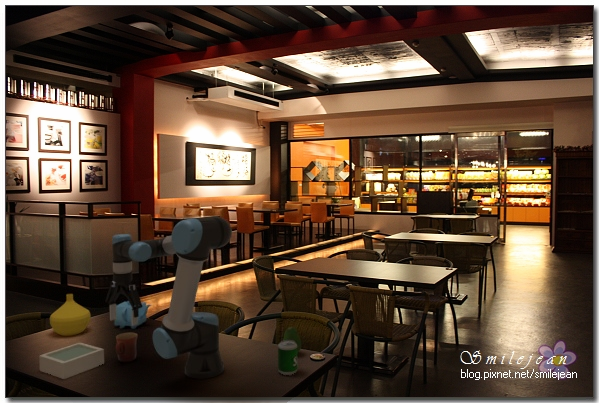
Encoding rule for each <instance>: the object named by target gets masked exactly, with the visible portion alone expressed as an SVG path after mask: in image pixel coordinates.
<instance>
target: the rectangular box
mask: <svg viewBox="0 0 599 403" xmlns="http://www.w3.org/2000/svg"><path fill="white" fill-rule="evenodd" d="M38 357H39V358H38V359H39V360H38V361H39V371H40V372H43V373H45V374H47V373H48V375H50V374H51V376H54V377H55V378H59V379H62V380H65V379H68V378H71V377H74V376H76V375H79V374H81V373H84V372H87V371H89V370H92V369H95V368H97V367H100V366H103V365H104V364H105V349H104V348H101V347H99V346H94V345H90V344H86V343H83V342H77V343H73V344H70V345H68V346H65V347H62V348H58V349H55V350H52V351H49V352H46V353H43V354H40V355H39V356H38ZM102 364H103V365H102ZM99 365H100V366H99Z"/></svg>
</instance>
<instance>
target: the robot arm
mask: <svg viewBox="0 0 599 403" xmlns="http://www.w3.org/2000/svg"><path fill="white" fill-rule="evenodd" d="M232 235H233V230H232V226H231V224H230V223H229V222H228V220H227V219H225V218H223V217H220V216H209V217H197V218H194V217H191V218H187V219H183V220H180V221H179V222H177V223H176V224H175V226H174V227H173V229H172V232H171V235H168V236H165V237H161V238H156V239H155V238H154V239H147V240H138V241H135V240H133V239H132V235H131V234H128V233H125V234H123V233H121V234H120V233H119V234H114V235H113V236H112V241H111V242H112V243H111V247H112V248H111V250H112V252H111V253H112V272H113V274H112V275H113V276H112V281H109V289H108V291H107V294H106V297H105V300H104V302H105V303H107V304H108V309H109V310H108V311H109V320H110V321H114V319H117V318H116V306H117V299H118V298H119V296H120V295H123V296H124V297H126V299H127V301H129V303H130V305H131V307H132V308H133V309H132V310H131V319H132V326H134V325H137V324H138V316H139V308H142V303H141V302H142V300H141V297H140V294H139V292H138V289H137V288H138V287H137V284H132V283H131V282H133V261H135V262H145V261H146V262H147V260H149V259H154V258H160V257H161V258H162V257H169V256H172V255H175V254H176V255H177V257H178V261H177V268H176V272H175V278H174V282H173V288H172V293H171V298H170V302H169V308H168V313H167V314H166V315H165V316H164V317H163V318H162V320H161V321H162V322H161V325H160V327H157V328H155V329H154V330H153V332H152V342H153V343H152V344H153V346H154V348H155V350H156V353H157V354H158V355H159V356H160V357H161V358H163V359H166V360H170V359H172V358H176V357H179V356H182V355H185V354H186V353H188V356H187V359H186V363H185V365H184V374H185V376H186V377H188V378H192V379H197V380H199V379H200V380H201V379H202V380H204V379H210V378H214V377H217V376H219V375H221V374H222V373H223V372H224V371H225V369H224V368H225V365H224V362H223V360H222V356H221V352H220V328H219V327H220V324H219V316H218V315H217V314H215V313H211V312H207V311H205V312H204V311H196V312H194V308H195V304H196V298H197V294H198V288H199V283H200V280H201V279H200V278H201V274H202V270H203V265H204V262H206V261H208V259H209V257H210V254H211V252H210V251H211V250H215V249H219V248H223V247H224V246H226V245H227V244H228V243H229V242H230V241H231V238H232Z"/></svg>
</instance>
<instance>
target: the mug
mask: <svg viewBox="0 0 599 403" xmlns="http://www.w3.org/2000/svg"><path fill="white" fill-rule="evenodd" d="M138 335H139V334H138V333H135V332H123V333H119V334H117V335H116V336H115V339H116V345H115V353H116V355H117V359H118V361H119V362H121V363H129V362H130V363H131V362H133V361H134V360H135V359H137V354H138V353H137V340H138Z"/></svg>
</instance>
